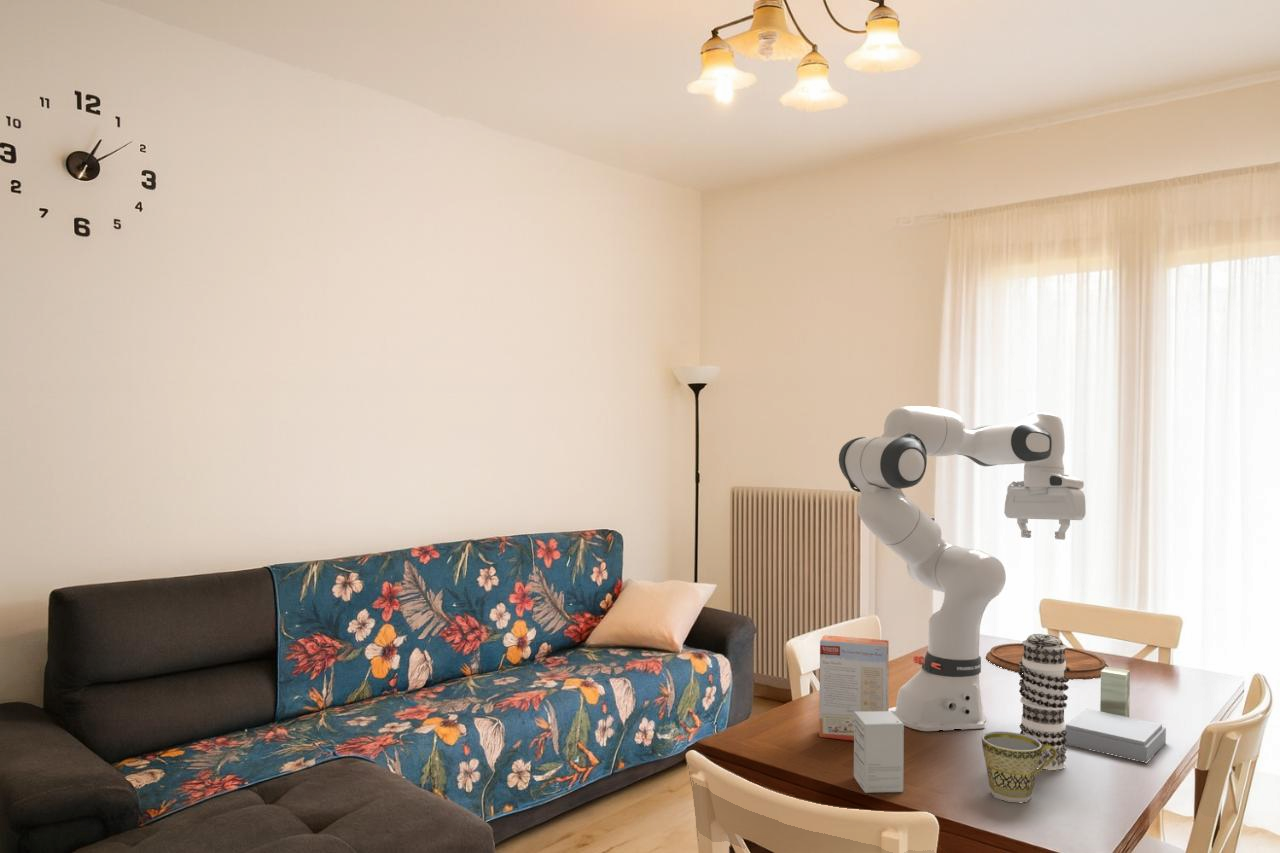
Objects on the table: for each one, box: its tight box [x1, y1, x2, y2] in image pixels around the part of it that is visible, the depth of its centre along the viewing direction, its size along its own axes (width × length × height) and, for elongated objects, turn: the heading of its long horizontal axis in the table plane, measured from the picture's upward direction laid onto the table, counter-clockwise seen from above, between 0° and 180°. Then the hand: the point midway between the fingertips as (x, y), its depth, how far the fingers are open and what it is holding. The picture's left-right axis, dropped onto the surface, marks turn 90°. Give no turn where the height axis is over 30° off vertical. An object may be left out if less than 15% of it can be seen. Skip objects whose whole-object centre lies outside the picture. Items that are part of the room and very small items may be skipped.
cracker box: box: [818, 634, 890, 742], centre depth 190 cm, size 14×6×21 cm, turn 70°
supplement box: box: [853, 711, 905, 794], centre depth 165 cm, size 7×7×13 cm
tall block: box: [1099, 666, 1131, 718], centre depth 201 cm, size 5×5×12 cm
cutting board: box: [985, 642, 1110, 681], centre depth 253 cm, size 32×32×3 cm
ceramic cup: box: [981, 730, 1056, 804], centre depth 161 cm, size 13×10×10 cm
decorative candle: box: [1018, 633, 1070, 771], centre depth 177 cm, size 9×9×25 cm
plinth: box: [1064, 708, 1167, 762], centre depth 188 cm, size 16×16×4 cm
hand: (1042, 538), depth 213 cm, fingers open, 8 cm apart
